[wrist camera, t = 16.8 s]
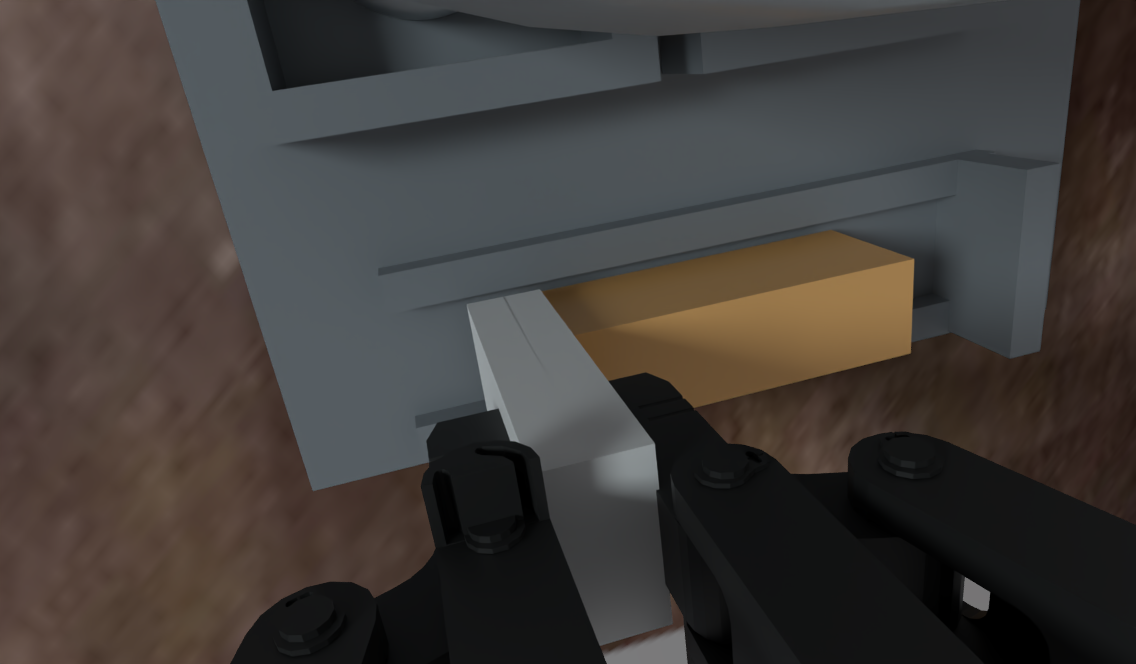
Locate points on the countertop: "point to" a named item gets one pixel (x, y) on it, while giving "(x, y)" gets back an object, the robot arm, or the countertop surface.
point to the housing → (602, 169)
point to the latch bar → (747, 316)
